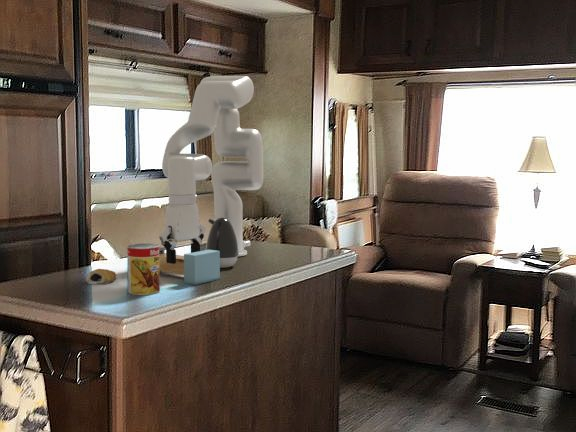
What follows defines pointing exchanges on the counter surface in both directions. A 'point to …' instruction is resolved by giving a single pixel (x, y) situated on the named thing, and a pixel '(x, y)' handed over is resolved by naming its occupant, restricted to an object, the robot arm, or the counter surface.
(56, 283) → the counter surface
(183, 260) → the tan wooden plank
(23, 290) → the counter surface
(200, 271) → the socket block
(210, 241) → the pump dispenser
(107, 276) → the pastry
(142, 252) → the canned food
